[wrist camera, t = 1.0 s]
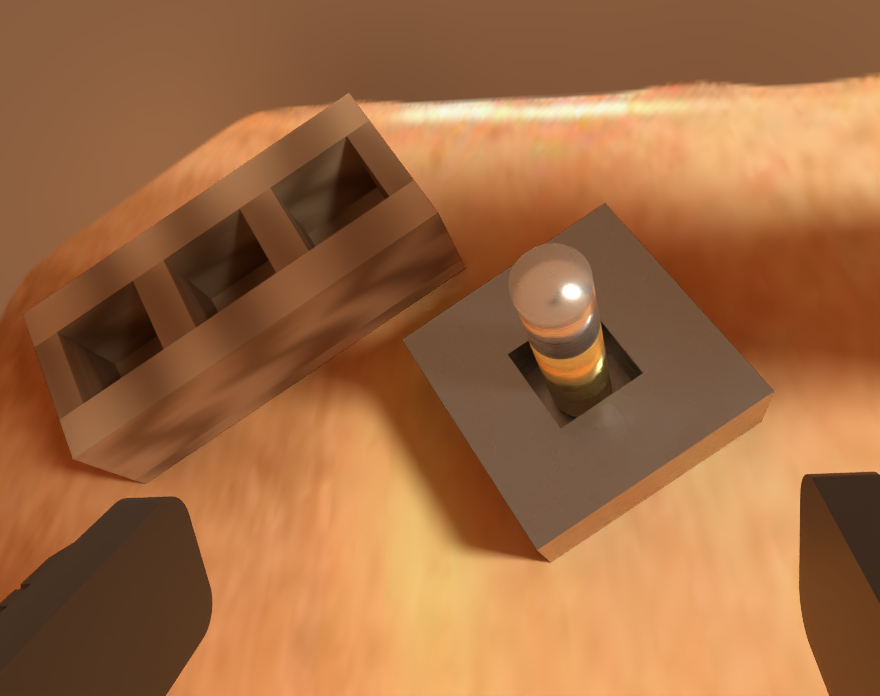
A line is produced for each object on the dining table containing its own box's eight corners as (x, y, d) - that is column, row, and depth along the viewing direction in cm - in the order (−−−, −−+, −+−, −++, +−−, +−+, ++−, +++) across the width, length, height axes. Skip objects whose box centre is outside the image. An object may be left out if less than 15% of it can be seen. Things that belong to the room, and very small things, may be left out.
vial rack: (383, 156, 48) (348, 92, 42) (465, 268, 43) (438, 212, 38) (93, 353, 48) (22, 314, 43) (145, 484, 43) (72, 459, 38)
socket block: (610, 247, 41) (605, 202, 37) (761, 421, 36) (774, 391, 32) (426, 370, 42) (401, 339, 38) (550, 562, 36) (536, 550, 32)
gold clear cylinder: (588, 348, 39) (560, 228, 28) (623, 394, 37) (609, 286, 26) (538, 381, 39) (492, 274, 28) (572, 428, 37) (538, 334, 27)
